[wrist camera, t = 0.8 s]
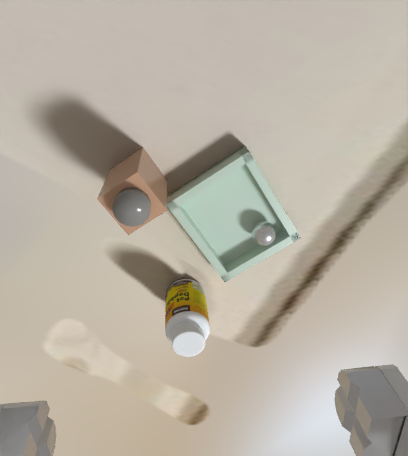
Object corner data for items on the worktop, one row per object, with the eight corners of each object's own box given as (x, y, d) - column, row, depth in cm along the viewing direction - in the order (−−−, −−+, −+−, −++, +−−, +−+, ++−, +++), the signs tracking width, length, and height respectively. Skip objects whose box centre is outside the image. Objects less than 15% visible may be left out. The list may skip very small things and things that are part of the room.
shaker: (110, 169, 42) (95, 203, 33) (142, 147, 42) (136, 176, 33) (135, 200, 44) (127, 240, 35) (166, 179, 44) (167, 215, 34)
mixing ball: (244, 225, 46) (249, 236, 44) (265, 212, 46) (271, 223, 43) (256, 242, 48) (261, 254, 45) (276, 230, 47) (283, 241, 44)
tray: (165, 196, 44) (166, 204, 42) (244, 145, 43) (249, 151, 40) (222, 271, 50) (224, 282, 48) (294, 229, 48) (300, 237, 46)
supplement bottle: (188, 269, 49) (193, 318, 41) (212, 295, 51) (221, 346, 43) (157, 291, 50) (155, 343, 42) (181, 315, 52) (184, 369, 44)
